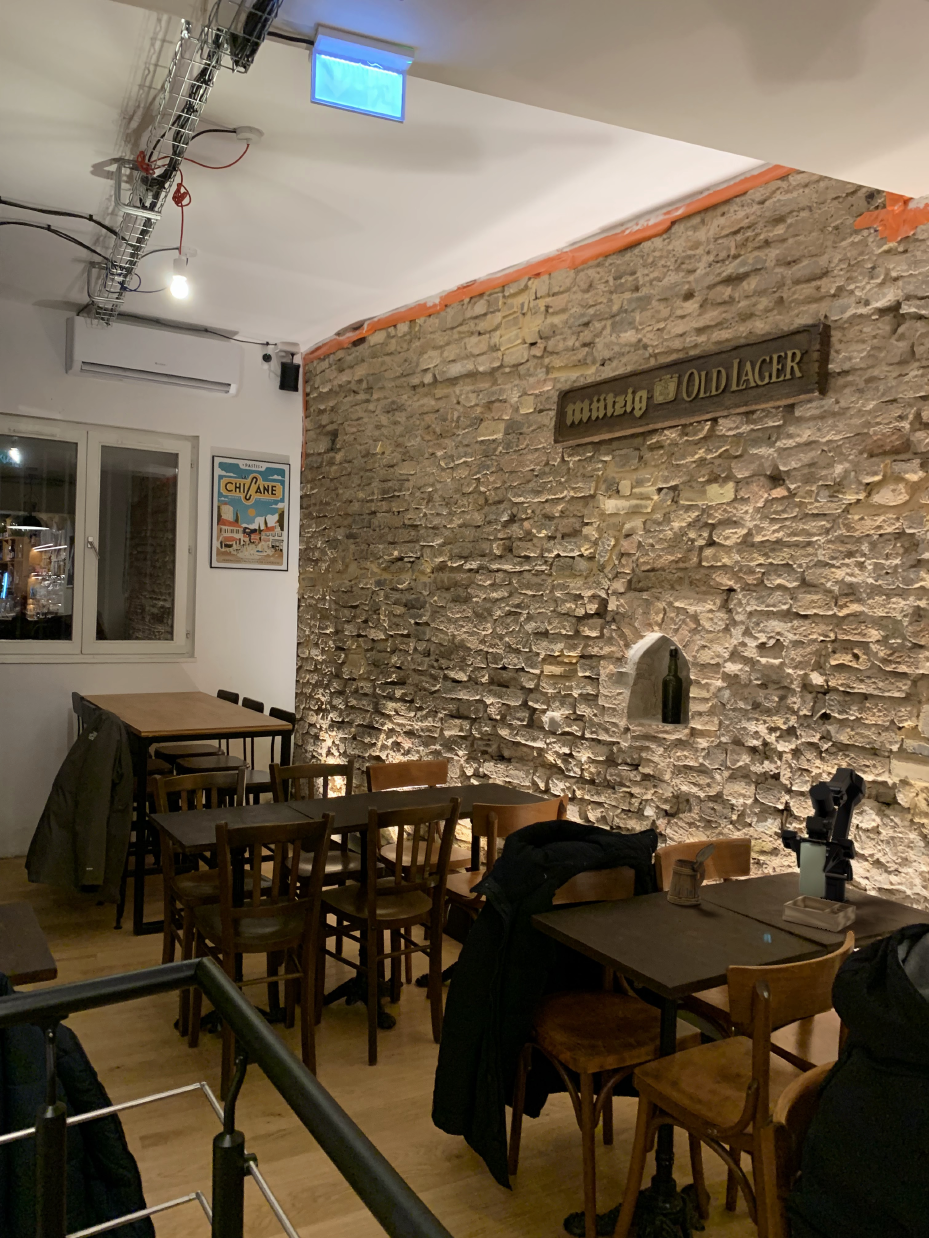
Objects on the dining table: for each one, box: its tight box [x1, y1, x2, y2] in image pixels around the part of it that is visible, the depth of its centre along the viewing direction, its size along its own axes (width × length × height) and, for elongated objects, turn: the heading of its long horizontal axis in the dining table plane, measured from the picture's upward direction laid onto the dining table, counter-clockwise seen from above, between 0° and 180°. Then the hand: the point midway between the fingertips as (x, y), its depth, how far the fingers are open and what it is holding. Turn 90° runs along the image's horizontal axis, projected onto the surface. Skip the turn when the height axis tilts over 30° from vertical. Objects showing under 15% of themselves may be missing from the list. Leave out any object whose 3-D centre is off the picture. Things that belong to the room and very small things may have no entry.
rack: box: [782, 894, 857, 933], centre depth 255 cm, size 15×14×4 cm
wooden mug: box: [666, 842, 716, 907], centre depth 265 cm, size 9×14×18 cm, turn 37°
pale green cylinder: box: [798, 842, 826, 898], centre depth 257 cm, size 6×6×13 cm
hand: (811, 869), depth 256 cm, fingers closed on pale green cylinder, 6 cm apart
